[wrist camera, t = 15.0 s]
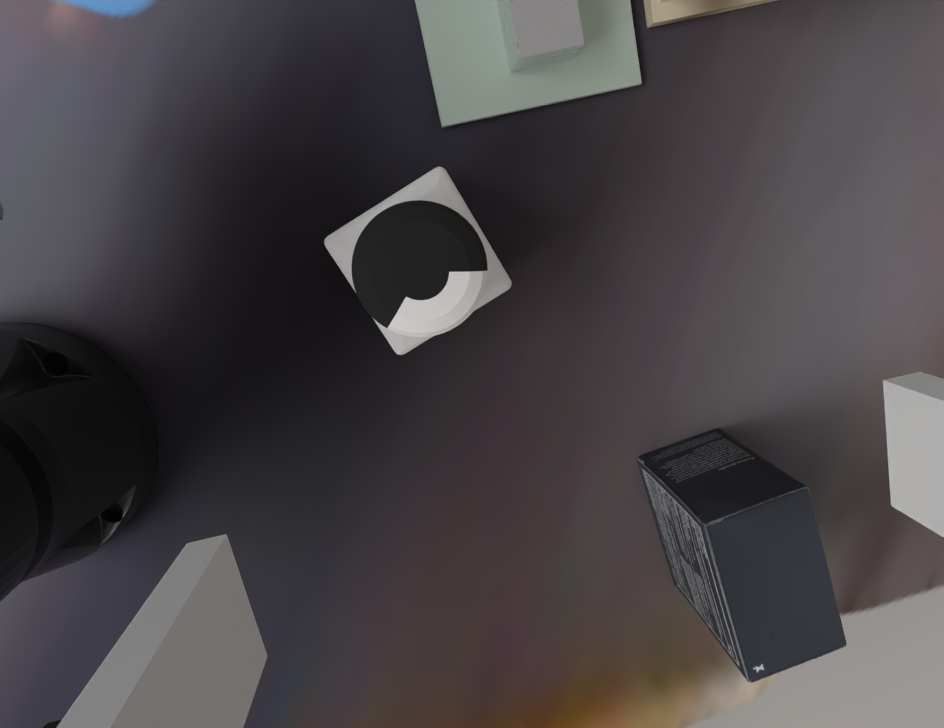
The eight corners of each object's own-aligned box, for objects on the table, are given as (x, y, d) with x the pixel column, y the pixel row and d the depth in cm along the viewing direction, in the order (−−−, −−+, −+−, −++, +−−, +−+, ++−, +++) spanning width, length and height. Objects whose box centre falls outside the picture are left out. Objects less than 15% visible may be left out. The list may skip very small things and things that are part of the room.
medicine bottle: (337, 236, 39) (303, 243, 27) (437, 173, 39) (446, 152, 27) (401, 335, 41) (395, 382, 29) (498, 275, 40) (532, 297, 29)
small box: (758, 555, 46) (855, 650, 36) (673, 586, 46) (746, 690, 36) (723, 423, 44) (817, 485, 34) (633, 456, 44) (699, 528, 34)
